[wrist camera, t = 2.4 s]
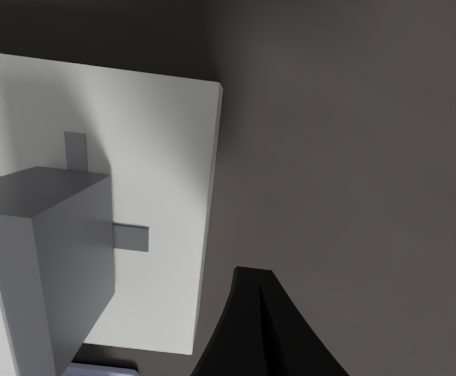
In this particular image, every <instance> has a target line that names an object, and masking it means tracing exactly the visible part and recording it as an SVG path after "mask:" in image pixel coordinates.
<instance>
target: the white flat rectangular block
mask: <svg viewBox="0 0 456 376" xmlns="http://www.w3.org/2000/svg"><path fill="white" fill-rule="evenodd" d="M222 96H223V88H222V86H221V84H220V83H219V82H212V81H204V80H197V79H189V78H182V77H174V76H166V75H159V74H151V73H144V72H136V71H129V70H121V69H113V68H106V67H98V66H91V65H83V64H76V63H68V62H60V61H53V60H45V59H38V58H30V57H22V56H15V55H7V54H0V176H4V175H7V174H11V173H14V172H18V171H21V170H24V169H28V168H31V167H35V166H41V167H49V168H57V169H65V170H73V171H81V172H89V173H97V174H106V175H111V194H112V221H113V249H114V277H115V294H114V295H113V297H112V299H111V300H110V302H109V303H108V305H107V306H106V308H105V309H104V311H103V313H102V314H101V316H100V317H99V319H98V320H97V322H96V323H95V325H94V326H93V328H92V330H91V331H90V333H89V334H88V336H87V337H86V339H85V340H84V342H83V343H90V344H99V345H108V346H117V347H126V348H135V349H144V350H153V351H161V352H170V353H179V354H188V355H192V350H193V344H194V338H195V333H196V327H197V321H198V315H199V308H200V299H201V290H202V280H203V271H204V262H205V253H206V243H207V234H208V225H209V216H210V207H211V197H212V188H213V179H214V170H215V160H216V151H217V142H218V133H219V123H220V114H221V105H222Z"/></svg>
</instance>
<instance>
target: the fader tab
mask: <svg viewBox="0 0 456 376" xmlns="http://www.w3.org/2000/svg"><path fill="white" fill-rule="evenodd" d="M114 294H115V277H114V249H113V221H112V194H111V175H106V174H97V173H89V172H81V171H73V170H65V169H57V168H49V167H41V166H35V167H31V168H28V169H24V170H21V171H18V172H14V173H11V174H7V175H4V176H0V376H62V375H63V373H64V372H65V370H66V368H67V367H68V365H69V364H70V362H71V361H72V359H73V358H74V356H75V354H76V353H77V351H78V350H79V348H80V347H81V345H82V344H83V342H84V340H85V339H86V337H87V336H88V334H89V333H90V331H91V330H92V328H93V326H94V325H95V323H96V322H97V320H98V319H99V317H100V316H101V314H102V313H103V311H104V309H105V308H106V306H107V305H108V303H109V302H110V300H111V299H112V297H113V295H114Z"/></svg>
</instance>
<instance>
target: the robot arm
mask: <svg viewBox="0 0 456 376" xmlns="http://www.w3.org/2000/svg"><path fill="white" fill-rule="evenodd" d="M62 376H138V372H137V371H135V370H133V369H125V368H116V367H107V366H98V365H89V364H80V363H71V362H70V364H69V365H68V367H67V368H66V370H65V372H64V373H63V375H62ZM191 376H349V375H348V373H347V372H346V371H345V370H344V369H343V368H342V367H341V365H340V364H339V363H338V362H337V361H336V359H335V358H334V357H333V356H332V355H331V353H330V352H329V351H328V350H327V348H326V347H325V346H324V344H323V343H322V342H321V341H320V339H319V338H318V337H317V336H316V334H315V333H314V332H313V330H312V329H311V328H310V326H309V325H308V323H307V322H306V321H305V319H304V318H303V316H302V315H301V314H300V312H299V311H298V309H297V308H296V307H295V305H294V304H293V302H292V301H291V299H290V298H289V296H288V295H287V293H286V292H285V290H284V289H283V287H282V285H281V284H280V282H279V281H278V279H277V278H276V276H275V274H274V273H273V272H272V270H264V269H256V268H248V267H239V266H237V267H236V268H234V273H233V279H232V285H231V291H230V294H229V297H228V299H227V302H226V305H225V307H224V310H223V313H222V315H221V317H220V319H219V322H218V324H217V326H216V328H215V330H214V333H213V335H212V337H211V339H210V341H209V343H208V345H207V347H206V349H205V350H204V352H203V354H202V356H201V358H200V360H199V362H198V363H197V365H196V367H195V369H194V370H193V372H192V374H191Z"/></svg>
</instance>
